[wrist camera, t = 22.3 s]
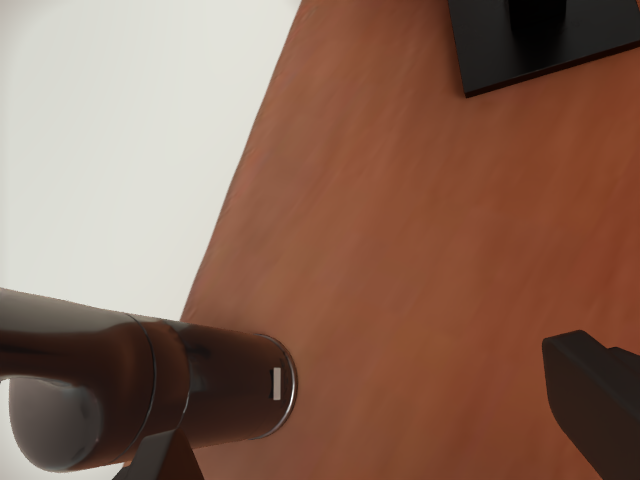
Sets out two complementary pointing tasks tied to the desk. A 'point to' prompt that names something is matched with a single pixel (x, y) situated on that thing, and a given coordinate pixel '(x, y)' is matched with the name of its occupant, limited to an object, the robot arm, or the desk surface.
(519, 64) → the stand
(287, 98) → the desk surface
